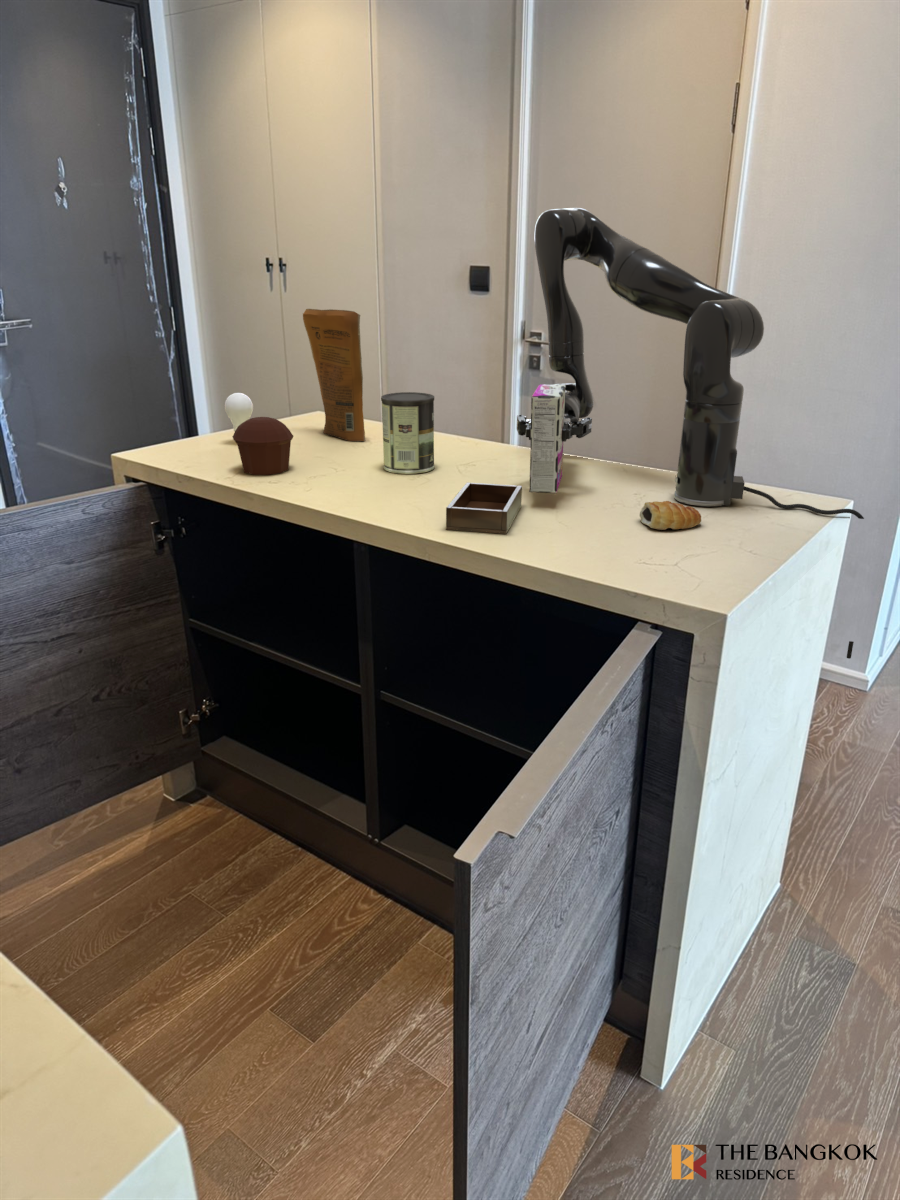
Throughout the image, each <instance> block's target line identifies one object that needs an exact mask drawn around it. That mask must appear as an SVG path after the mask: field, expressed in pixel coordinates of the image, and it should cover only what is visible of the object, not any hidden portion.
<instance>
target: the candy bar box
mask: <svg viewBox="0 0 900 1200" xmlns="http://www.w3.org/2000/svg"><path fill="white" fill-rule="evenodd" d="M565 387H566V386H565V385H552V384H546V383H545V384H544V383H543V384H542V383H541V384H538V386H537V387H536V388H535V389H534V392H533V394H532V395H531V402H530V403H531V405H530V406H531V407H530V408H531V409H530V419H531V440H530V451H529V452H530V453H529V454H530V456H529V457H530V459H529V465H530V466H529V493H536V494H557V493H558V490H559V486H560V484H561V481H562V478H563V466H564V465H563V463H564V461H563V459H564V442H563V441H562V428H563V426H564V409H565Z"/></svg>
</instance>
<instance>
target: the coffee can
mask: <svg viewBox="0 0 900 1200" xmlns="http://www.w3.org/2000/svg"><path fill="white" fill-rule="evenodd" d="M380 401H381V416H382V417H381V419H382V450H383V451H382V452H383V455H382V456H383V470H384V471H386V472H389V473H392V474H402V475H415V474H424V473H428V472H431V471H433V470H434V469H435V402H434V401H435V395H433V394H431V393H426V392H413V391H405V392H404V391H403V392H401V391H400V392H392V393H391V392H390V393H386V394H383V395H381V396H380Z"/></svg>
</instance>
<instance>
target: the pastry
mask: <svg viewBox="0 0 900 1200" xmlns="http://www.w3.org/2000/svg"><path fill="white" fill-rule="evenodd" d="M639 518H640V522H641V523H642V524H643V525H645V526H648V527H649V528H651V529H655V530H657V531H660V530H661V531H662V530H665V531H666V530H667V529H672V530H679V529H681V530H684V529H691V528H694V527H696V526H697V525H700V524H701V522H702V515H701V513H700V511H699V510H698V509H696V508H695V507H693V506H691V505H690V506H689V505H687V506H685V505H684V504H683V503H680V502H679V503H677V502H671V501H669V500H663V501H647V502H645V503H644V504H643V506H642V507H641V510H640V512H639Z"/></svg>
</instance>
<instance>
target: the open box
mask: <svg viewBox="0 0 900 1200" xmlns="http://www.w3.org/2000/svg"><path fill="white" fill-rule="evenodd" d="M522 497H523V485H516V484H515V485H514V484H498V483H495V484H494V483H481V482H467V481H466V483H465V484H464V485H463V487H462V488H460V490H459V492H458V493H457V494H456V495H455V496H454V498H453V499H452V500H451V501H450V502H449V503H448V505H447V506H446V507H445V530H447V531H459V532H473V533H485V534H498V535H499V534H500V535H507V534H508V532H509V530H510V528H511V526H512V524H513V523H514V521H515V519H516V517H517V515H518V513H519V511H520V509H521V507H522V499H523V498H522Z"/></svg>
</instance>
